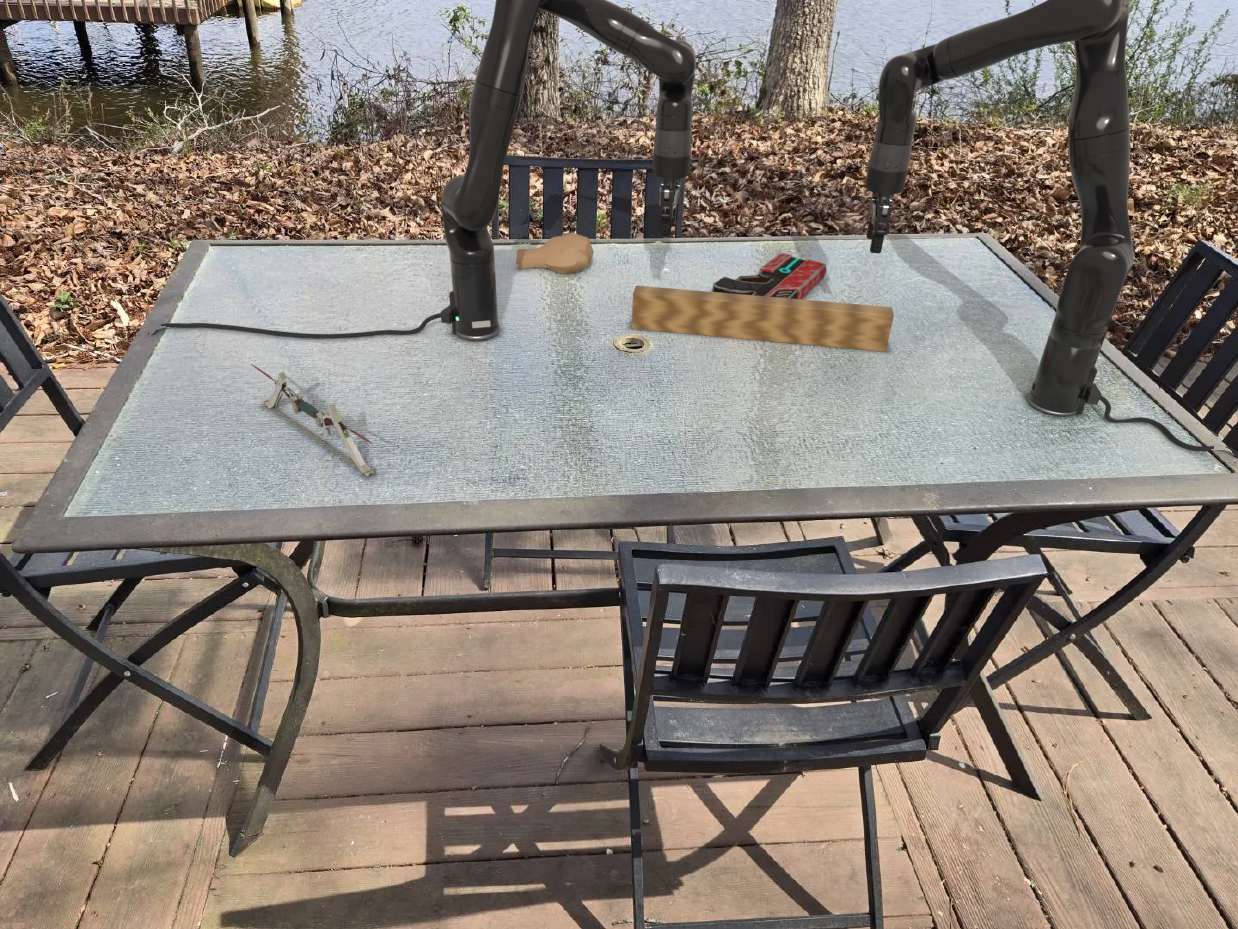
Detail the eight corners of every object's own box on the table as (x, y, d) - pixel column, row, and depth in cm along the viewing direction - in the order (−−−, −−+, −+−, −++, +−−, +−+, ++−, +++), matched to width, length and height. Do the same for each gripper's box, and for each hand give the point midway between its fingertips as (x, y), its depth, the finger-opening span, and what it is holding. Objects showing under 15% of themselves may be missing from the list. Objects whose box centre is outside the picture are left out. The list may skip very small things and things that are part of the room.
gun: (708, 284, 207) (784, 305, 199) (760, 245, 229) (831, 262, 221) (706, 302, 209) (781, 323, 201) (758, 261, 231) (828, 278, 223)
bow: (384, 479, 145) (376, 427, 139) (374, 483, 144) (366, 432, 138) (264, 397, 166) (253, 350, 161) (255, 401, 165) (244, 353, 160)
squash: (595, 277, 221) (590, 246, 215) (517, 285, 222) (510, 253, 216) (596, 255, 229) (591, 224, 223) (520, 262, 230) (514, 231, 224)
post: (631, 328, 196) (633, 292, 192) (634, 320, 200) (635, 285, 195) (886, 351, 190) (894, 315, 185) (884, 342, 193) (891, 306, 189)
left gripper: (687, 161, 170) (682, 242, 179) (693, 143, 181) (688, 220, 190) (649, 158, 171) (645, 239, 180) (657, 140, 182) (654, 217, 191)
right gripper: (912, 176, 165) (895, 259, 174) (904, 156, 176) (888, 235, 185) (872, 173, 166) (857, 256, 175) (866, 154, 177) (852, 232, 186)
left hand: (667, 229), depth 185 cm, fingers open, 8 cm apart
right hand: (873, 245), depth 180 cm, fingers open, 8 cm apart
